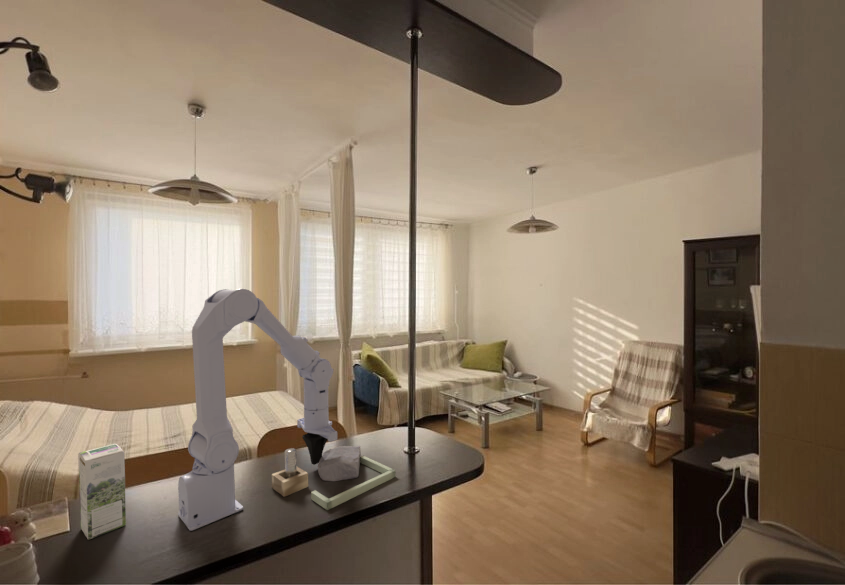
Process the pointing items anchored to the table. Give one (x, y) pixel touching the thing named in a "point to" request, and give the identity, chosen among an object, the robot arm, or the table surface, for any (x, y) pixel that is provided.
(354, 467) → the stone block
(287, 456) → the cylinder
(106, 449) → the syrup box
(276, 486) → the block
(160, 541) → the table surface
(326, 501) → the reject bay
